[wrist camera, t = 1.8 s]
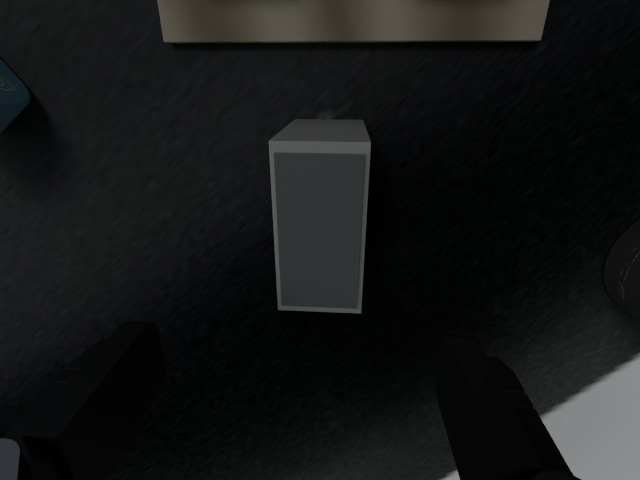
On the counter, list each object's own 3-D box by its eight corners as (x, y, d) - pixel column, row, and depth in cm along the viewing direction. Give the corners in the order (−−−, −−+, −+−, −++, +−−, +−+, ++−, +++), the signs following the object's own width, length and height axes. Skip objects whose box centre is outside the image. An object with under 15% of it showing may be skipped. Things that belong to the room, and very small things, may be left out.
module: (362, 119, 24) (371, 143, 15) (357, 243, 28) (361, 316, 19) (295, 119, 24) (267, 141, 16) (298, 241, 28) (277, 313, 19)
